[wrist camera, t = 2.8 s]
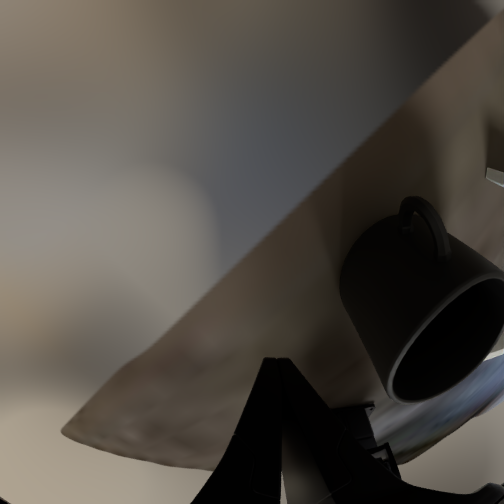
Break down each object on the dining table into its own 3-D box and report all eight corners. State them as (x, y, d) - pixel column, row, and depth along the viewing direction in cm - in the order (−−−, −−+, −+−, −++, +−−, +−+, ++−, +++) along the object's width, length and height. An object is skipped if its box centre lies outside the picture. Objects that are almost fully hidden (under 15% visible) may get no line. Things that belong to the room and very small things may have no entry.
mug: (430, 162, 15) (528, 196, 7) (439, 294, 20) (495, 359, 12) (313, 202, 16) (377, 272, 8) (348, 336, 21) (385, 423, 13)
